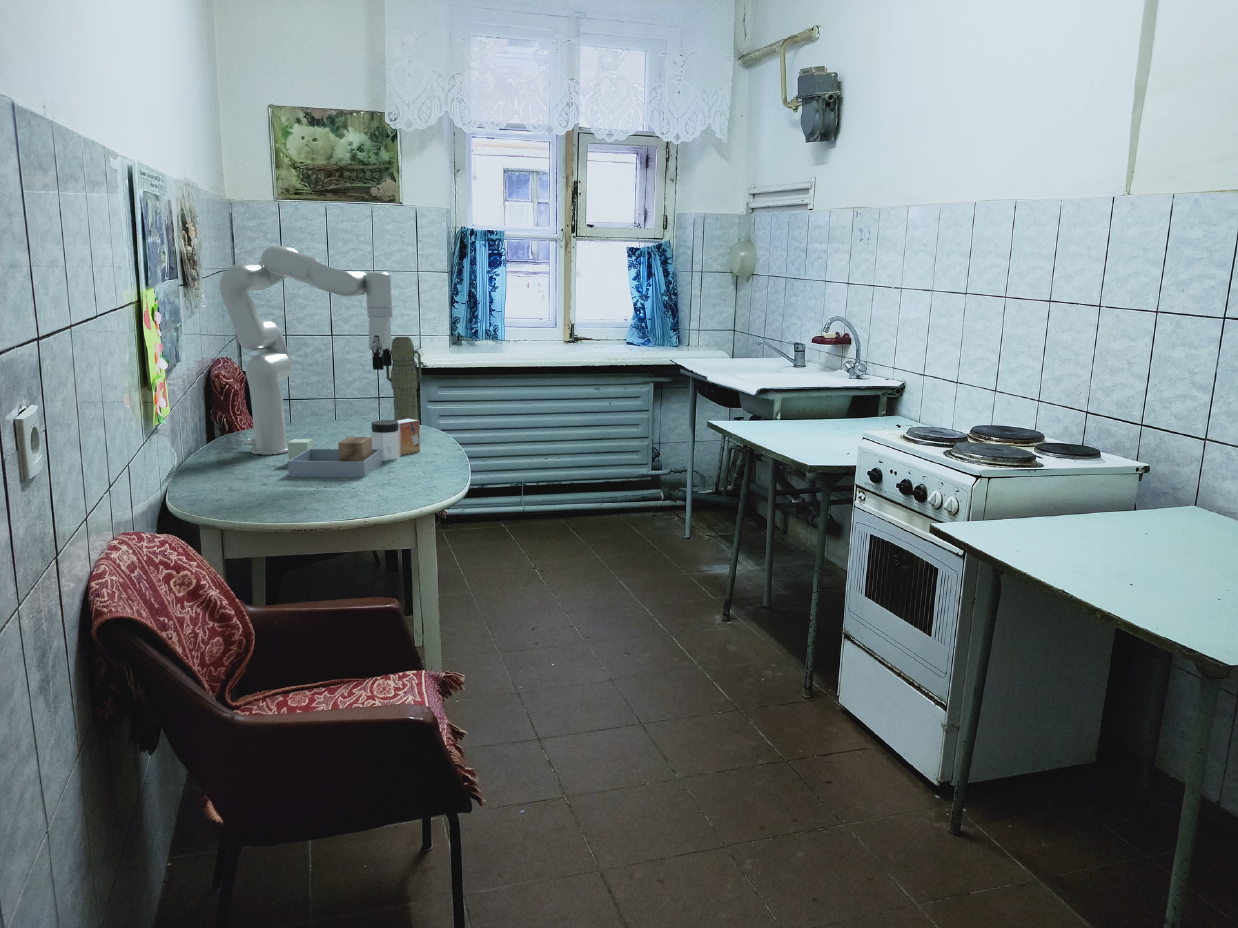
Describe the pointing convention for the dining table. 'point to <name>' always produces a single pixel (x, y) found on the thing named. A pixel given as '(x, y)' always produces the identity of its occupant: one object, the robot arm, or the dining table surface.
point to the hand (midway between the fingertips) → (382, 367)
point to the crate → (331, 464)
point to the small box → (409, 436)
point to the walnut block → (355, 448)
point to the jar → (386, 438)
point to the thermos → (404, 378)
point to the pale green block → (298, 447)
